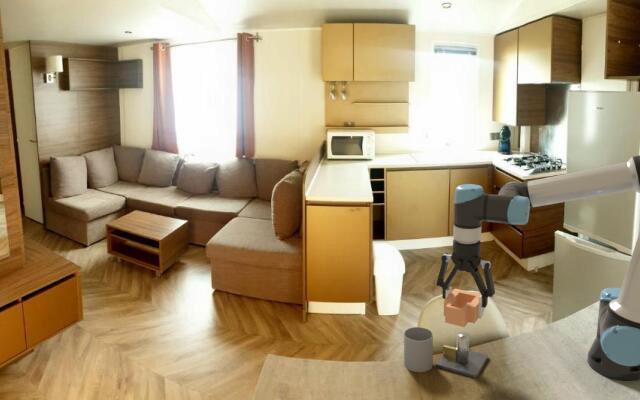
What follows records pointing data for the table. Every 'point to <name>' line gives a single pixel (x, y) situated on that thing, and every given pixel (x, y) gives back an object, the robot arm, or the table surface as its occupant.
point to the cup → (418, 349)
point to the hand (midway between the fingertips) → (464, 312)
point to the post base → (464, 367)
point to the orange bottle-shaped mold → (461, 307)
